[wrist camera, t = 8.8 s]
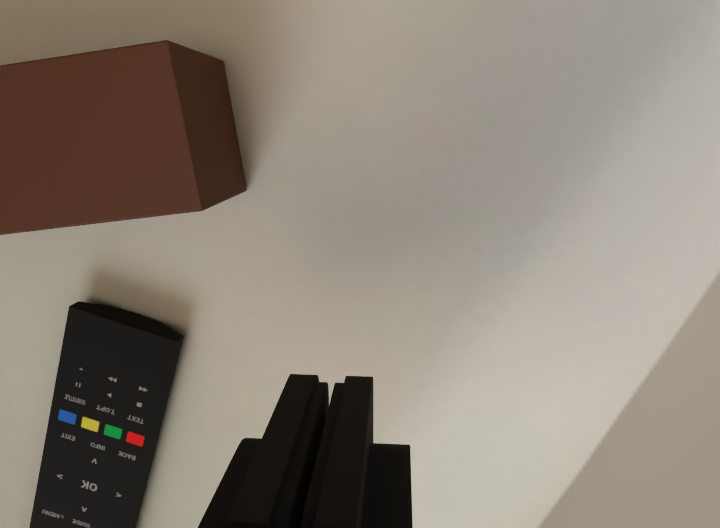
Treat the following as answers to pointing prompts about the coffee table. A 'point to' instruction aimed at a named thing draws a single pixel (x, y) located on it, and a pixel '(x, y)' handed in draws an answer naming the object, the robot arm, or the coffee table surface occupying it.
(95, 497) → the remote control
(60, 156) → the bottle
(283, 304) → the coffee table surface
